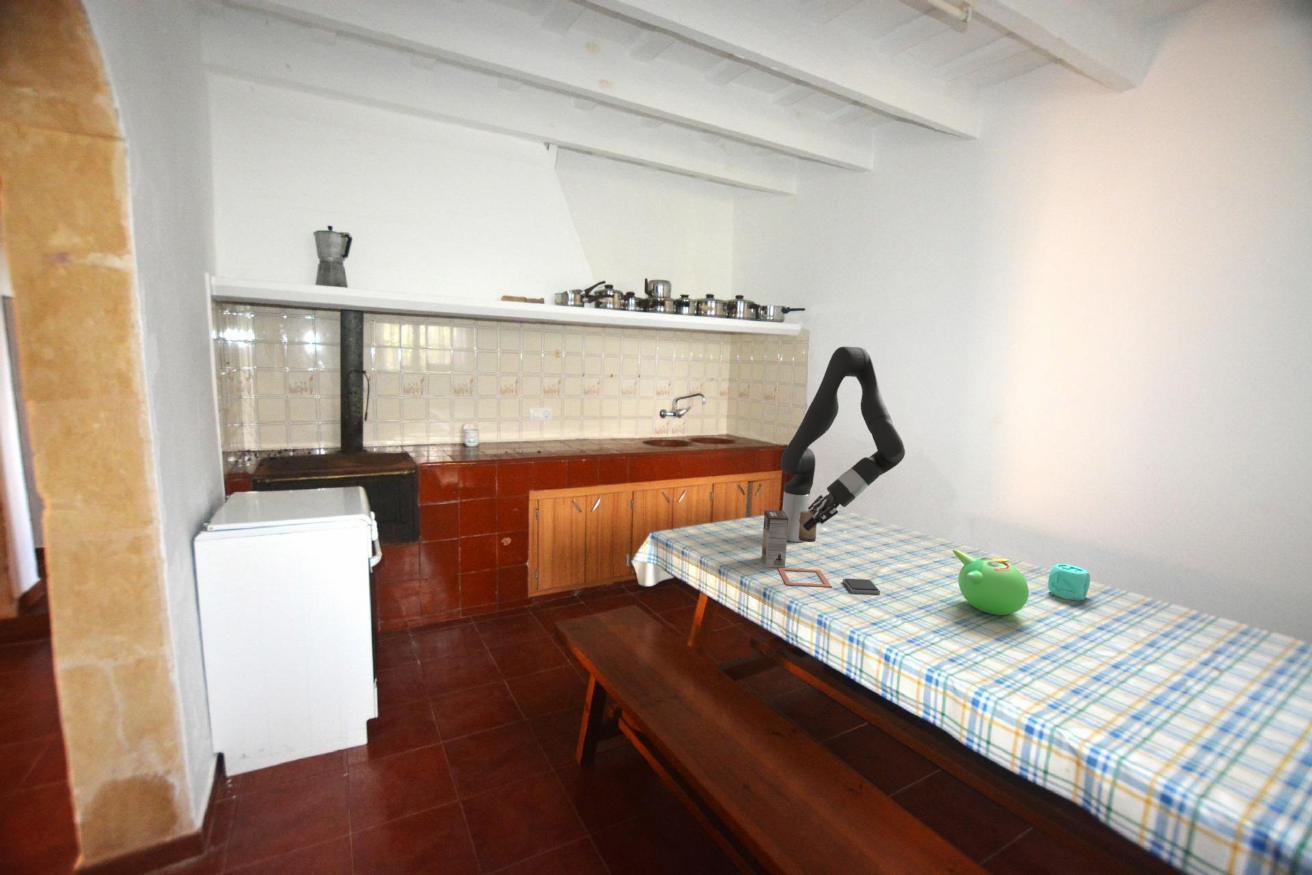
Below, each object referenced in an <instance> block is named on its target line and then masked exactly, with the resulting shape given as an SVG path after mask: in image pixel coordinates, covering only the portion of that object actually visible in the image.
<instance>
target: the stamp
mask: <svg viewBox="0 0 1312 875" xmlns="http://www.w3.org/2000/svg"><path fill="white" fill-rule="evenodd" d="M815 514H816V513H815V512H811V511H802V512H800V527H799V540H801V541H804V542H805V543H815V542H816V538H817V524H818V523H817V524H816V525H815V526H814V527H813V528H812V529H810V530H809V531H807V530H806V529H805V528H804V527H803V525H804V524H805V523H806V522H807V521H808V520H809V519H811V518H813V516H814V515H815ZM804 542H803V543H804Z"/></svg>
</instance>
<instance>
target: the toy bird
mask: <svg viewBox="0 0 1312 875" xmlns="http://www.w3.org/2000/svg"><path fill="white" fill-rule="evenodd" d="M952 552H953V554H954V555H955V557H956V558H957V559H958V560H959V561H960V562H961V564H963V565H962V567H961V568H960V570H959V574H958V578H957V580H958V587H959V590H960V593H961V594H962V596H963V597H964V599H965V600H966V601H967V603H969V604H970V605H971V606H972V607H974V608H976V609H977V610H979V611H981V612H984V613H988V614H990V615H999V616H1002V615H1004V616H1006V615H1010V614H1011V615H1012V614H1014V613H1017V612H1019V611H1020V610H1021V609H1023V607H1025V605H1026V604H1027V602H1028V601H1029V600H1028V599H1029V593H1030V592H1029V585H1028V581H1027V580H1026V578H1025V576H1024V575H1023V573H1022V572H1021V571H1020V570H1019V569H1018V568H1017V567H1016V566H1014V565H1013V564H1011V563H1010V561H1011V559H1008V558H995V557H994V558H993V557H979V558H978V557H977V558H974V557H972V556H970V555H968V554H967V553H964V552H962V551H960V550H958V549H953V550H952Z"/></svg>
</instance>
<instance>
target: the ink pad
mask: <svg viewBox="0 0 1312 875" xmlns="http://www.w3.org/2000/svg"><path fill="white" fill-rule="evenodd" d="M842 583H843V585H844V586H845V587H846V589H847V590H848V591H849V593H850V594H863V595H864V594H865V595H880V594H881V590H880V589H879V588H878V587H877V586H876V584H874V582H872V580H871V579H862V578H861V579H860V578H842Z"/></svg>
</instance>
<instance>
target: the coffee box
mask: <svg viewBox="0 0 1312 875" xmlns="http://www.w3.org/2000/svg"><path fill="white" fill-rule="evenodd" d="M763 515H764V516H763V528H762V542H761V544H762V546H761V558H762V561H763V564H764V565H765V567H767V568H786V556H787V545H788V541H787V535H788V522H789V518H788V517H787V515H786V514H785V512H784V511H783V510H771V509H770V510H766V509H764V514H763Z"/></svg>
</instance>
